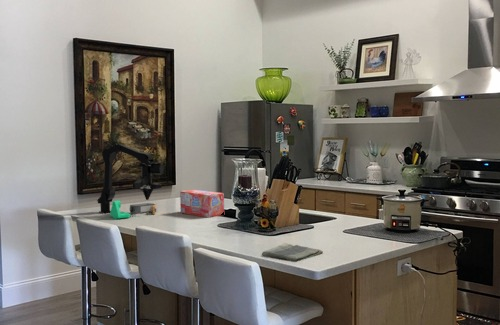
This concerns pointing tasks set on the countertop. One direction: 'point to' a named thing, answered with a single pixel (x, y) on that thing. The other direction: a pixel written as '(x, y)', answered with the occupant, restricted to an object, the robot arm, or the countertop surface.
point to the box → (202, 203)
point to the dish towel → (291, 252)
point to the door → (154, 208)
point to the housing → (141, 208)
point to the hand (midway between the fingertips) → (147, 199)
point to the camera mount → (118, 211)
